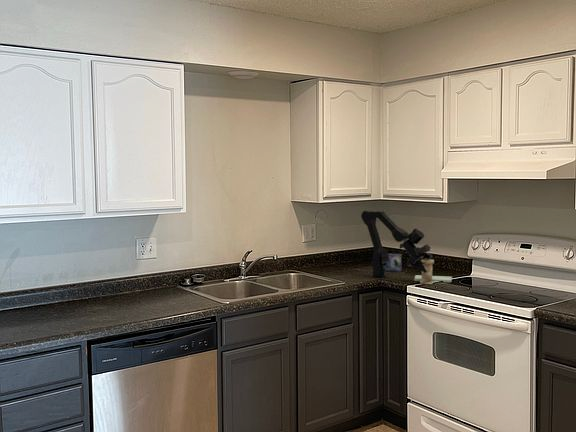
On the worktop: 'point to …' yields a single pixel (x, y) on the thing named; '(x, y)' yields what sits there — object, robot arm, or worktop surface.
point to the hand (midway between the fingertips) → (429, 271)
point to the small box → (394, 263)
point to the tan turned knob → (428, 275)
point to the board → (435, 278)
